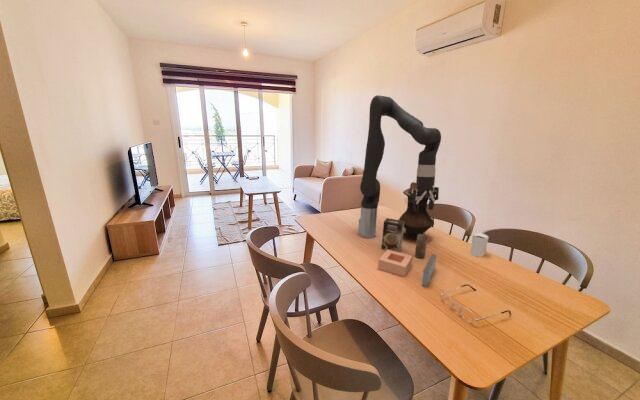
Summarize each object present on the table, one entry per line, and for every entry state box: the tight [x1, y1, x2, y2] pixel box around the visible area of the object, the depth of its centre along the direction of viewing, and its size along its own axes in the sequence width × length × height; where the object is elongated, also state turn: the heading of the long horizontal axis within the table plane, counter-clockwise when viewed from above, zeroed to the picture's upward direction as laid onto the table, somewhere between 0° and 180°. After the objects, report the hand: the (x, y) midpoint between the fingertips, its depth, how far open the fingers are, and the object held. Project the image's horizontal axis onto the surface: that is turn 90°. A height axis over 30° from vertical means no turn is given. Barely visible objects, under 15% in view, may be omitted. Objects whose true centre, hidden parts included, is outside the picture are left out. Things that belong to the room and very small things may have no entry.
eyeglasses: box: [440, 284, 511, 323], centre depth 92 cm, size 16×19×5 cm
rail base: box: [421, 253, 437, 288], centre depth 112 cm, size 24×16×8 cm, turn 57°
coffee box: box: [381, 217, 405, 253], centre depth 131 cm, size 9×6×16 cm
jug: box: [398, 181, 435, 241], centre depth 146 cm, size 21×18×30 cm
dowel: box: [414, 234, 428, 260], centre depth 123 cm, size 4×4×12 cm
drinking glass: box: [470, 232, 489, 258], centre depth 129 cm, size 7×7×10 cm
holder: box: [377, 249, 413, 278], centre depth 114 cm, size 11×11×4 cm
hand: (423, 210), depth 118 cm, fingers open, 8 cm apart
